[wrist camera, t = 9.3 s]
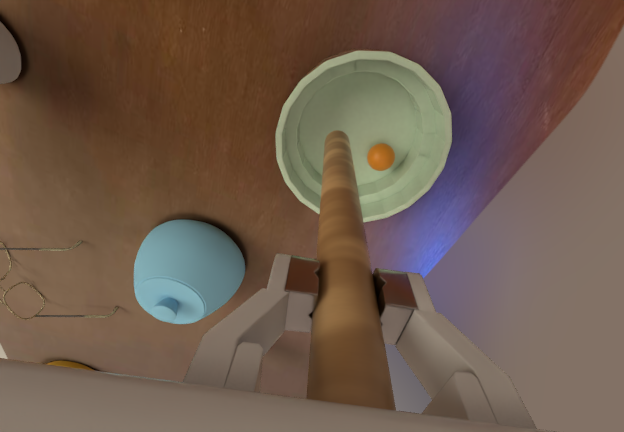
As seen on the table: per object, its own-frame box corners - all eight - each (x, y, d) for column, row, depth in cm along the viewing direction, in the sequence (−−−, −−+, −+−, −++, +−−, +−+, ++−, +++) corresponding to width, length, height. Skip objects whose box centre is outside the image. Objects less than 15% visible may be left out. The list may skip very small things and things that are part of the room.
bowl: (461, 119, 30) (490, 137, 24) (359, 215, 37) (364, 245, 32) (350, 7, 25) (355, -2, 20) (259, 142, 33) (244, 162, 27)
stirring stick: (354, 140, 22) (426, 461, 5) (338, 159, 23) (355, 481, 6) (335, 124, 22) (348, 428, 5) (319, 144, 22) (283, 456, 6)
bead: (397, 150, 31) (403, 160, 29) (378, 169, 33) (382, 180, 30) (378, 134, 31) (383, 142, 28) (360, 154, 32) (362, 164, 29)
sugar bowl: (268, 258, 43) (249, 322, 33) (211, 298, 49) (180, 363, 39) (187, 193, 37) (136, 247, 27) (134, 247, 43) (77, 307, 34)
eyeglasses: (-8, 234, 44) (-44, 255, 40) (83, 240, 43) (56, 262, 39) (43, 302, 52) (18, 324, 48) (119, 307, 52) (100, 331, 48)
